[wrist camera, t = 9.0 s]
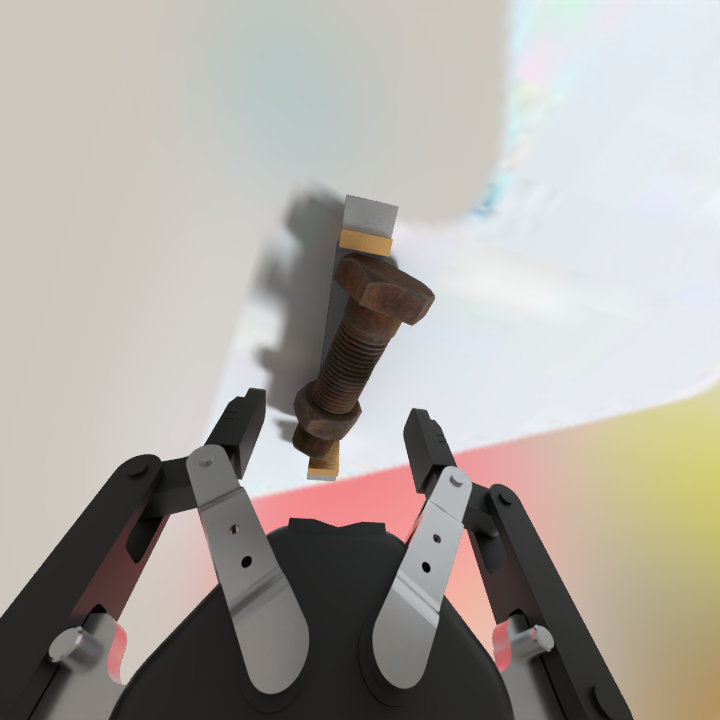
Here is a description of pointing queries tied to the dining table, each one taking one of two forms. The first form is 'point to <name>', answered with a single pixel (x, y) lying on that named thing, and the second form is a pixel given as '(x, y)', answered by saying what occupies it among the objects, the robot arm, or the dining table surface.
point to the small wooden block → (325, 465)
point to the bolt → (356, 348)
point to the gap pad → (338, 301)
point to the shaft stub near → (367, 225)
